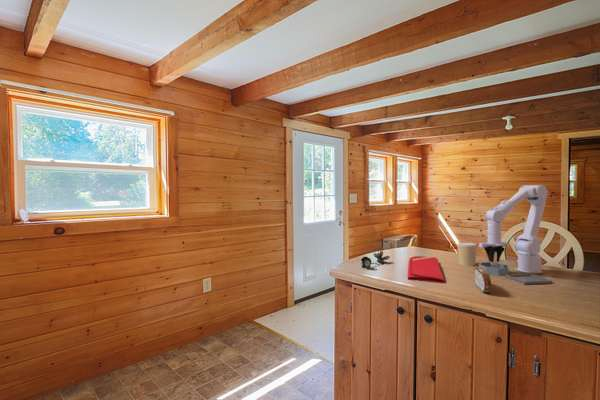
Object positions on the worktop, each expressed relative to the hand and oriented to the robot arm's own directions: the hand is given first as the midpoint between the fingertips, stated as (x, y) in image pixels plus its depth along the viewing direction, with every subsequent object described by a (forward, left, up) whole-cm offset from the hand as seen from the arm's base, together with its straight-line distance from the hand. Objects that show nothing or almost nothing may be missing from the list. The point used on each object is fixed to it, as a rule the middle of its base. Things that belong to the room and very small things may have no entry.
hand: (493, 261), depth 152 cm
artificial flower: (+53, -24, -6) cm, 58 cm away
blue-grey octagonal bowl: (0, 0, -6) cm, 6 cm away
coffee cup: (+3, -16, -6) cm, 17 cm away
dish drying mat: (+32, -9, -7) cm, 34 cm away
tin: (+23, +22, -6) cm, 32 cm away
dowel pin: (0, 0, -3) cm, 3 cm away
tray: (-5, +14, -6) cm, 16 cm away
